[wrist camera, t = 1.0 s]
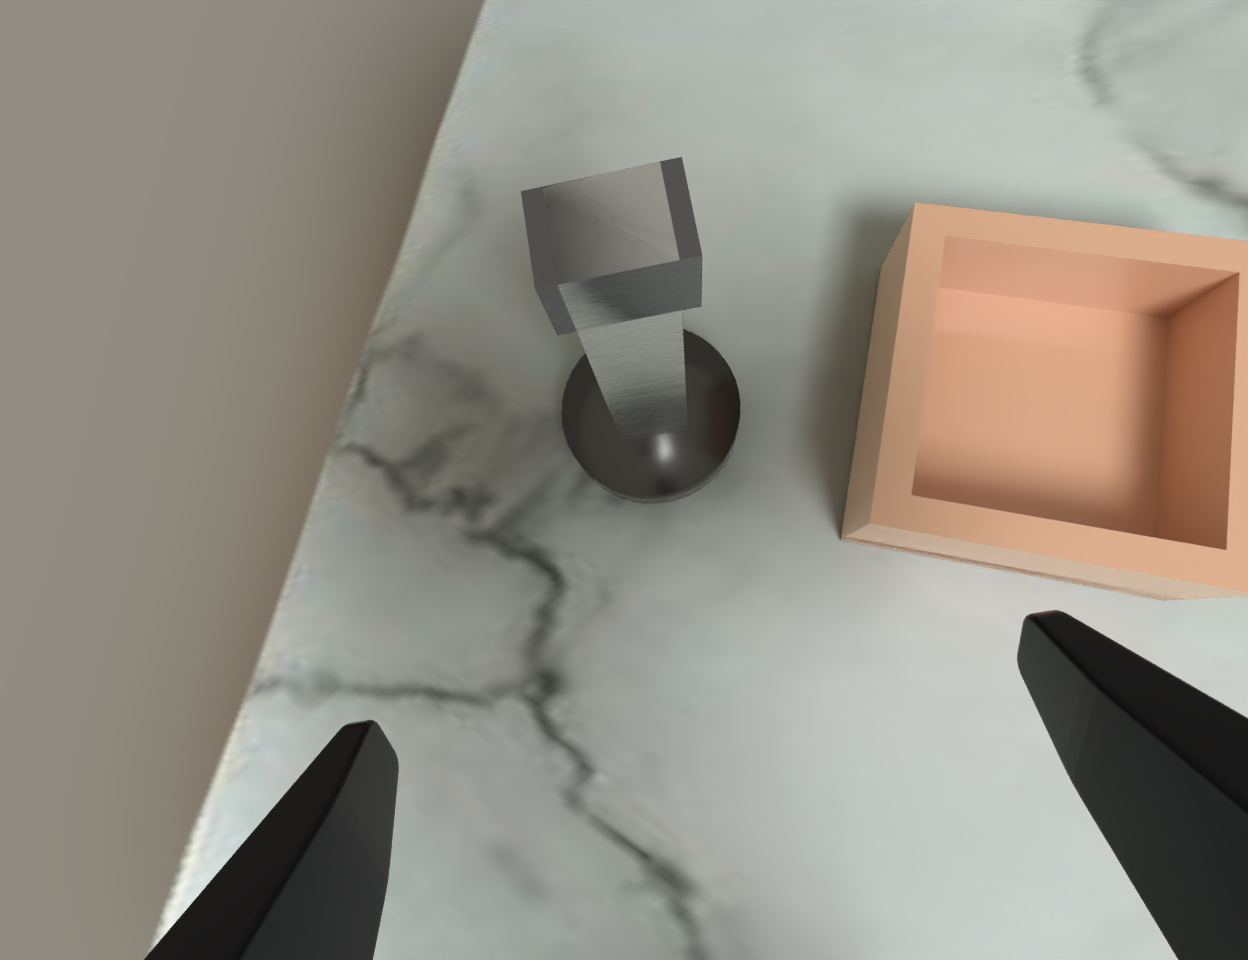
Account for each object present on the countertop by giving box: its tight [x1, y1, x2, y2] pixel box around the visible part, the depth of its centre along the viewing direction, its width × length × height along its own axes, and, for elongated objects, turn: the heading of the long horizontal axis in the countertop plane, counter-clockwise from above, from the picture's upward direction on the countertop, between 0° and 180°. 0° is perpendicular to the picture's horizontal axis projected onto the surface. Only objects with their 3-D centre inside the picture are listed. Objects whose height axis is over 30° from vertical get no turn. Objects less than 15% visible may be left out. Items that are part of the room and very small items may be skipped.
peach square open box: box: [840, 202, 1248, 600], centre depth 21 cm, size 10×10×4 cm
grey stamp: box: [521, 157, 740, 503], centre depth 18 cm, size 6×6×12 cm
